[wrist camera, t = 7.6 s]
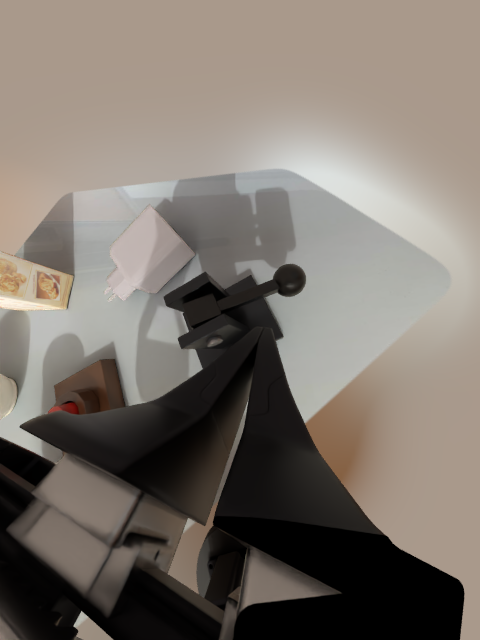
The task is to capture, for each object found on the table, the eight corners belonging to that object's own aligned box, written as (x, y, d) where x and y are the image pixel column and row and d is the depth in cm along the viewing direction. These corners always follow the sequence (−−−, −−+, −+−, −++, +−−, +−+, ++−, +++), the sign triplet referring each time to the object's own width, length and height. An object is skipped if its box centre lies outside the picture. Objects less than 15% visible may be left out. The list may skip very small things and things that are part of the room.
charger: (110, 283, 31) (168, 223, 29) (132, 320, 28) (198, 256, 26) (79, 272, 26) (146, 200, 25) (103, 315, 23) (179, 237, 22)
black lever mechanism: (252, 278, 23) (230, 231, 14) (283, 337, 21) (281, 328, 12) (187, 315, 25) (128, 295, 16) (208, 373, 23) (155, 389, 14)
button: (82, 425, 23) (66, 431, 21) (63, 434, 23) (46, 441, 22) (78, 398, 24) (62, 402, 22) (60, 407, 24) (43, 412, 22)
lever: (289, 271, 19) (300, 252, 16) (304, 295, 18) (318, 279, 15) (187, 310, 17) (178, 296, 14) (198, 339, 16) (190, 331, 13)
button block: (132, 436, 24) (103, 453, 21) (82, 459, 26) (47, 477, 22) (114, 358, 28) (86, 360, 24) (70, 382, 29) (38, 388, 25)
